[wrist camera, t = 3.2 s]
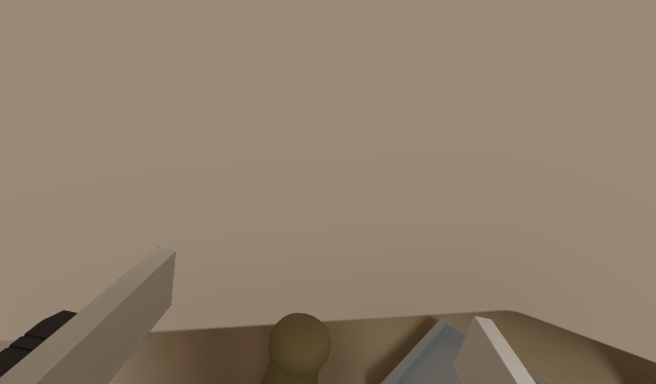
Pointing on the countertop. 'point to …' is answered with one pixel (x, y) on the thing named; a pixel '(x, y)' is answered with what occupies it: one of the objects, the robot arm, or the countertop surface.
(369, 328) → the countertop surface
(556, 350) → the countertop surface
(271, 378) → the cork
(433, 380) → the tray
